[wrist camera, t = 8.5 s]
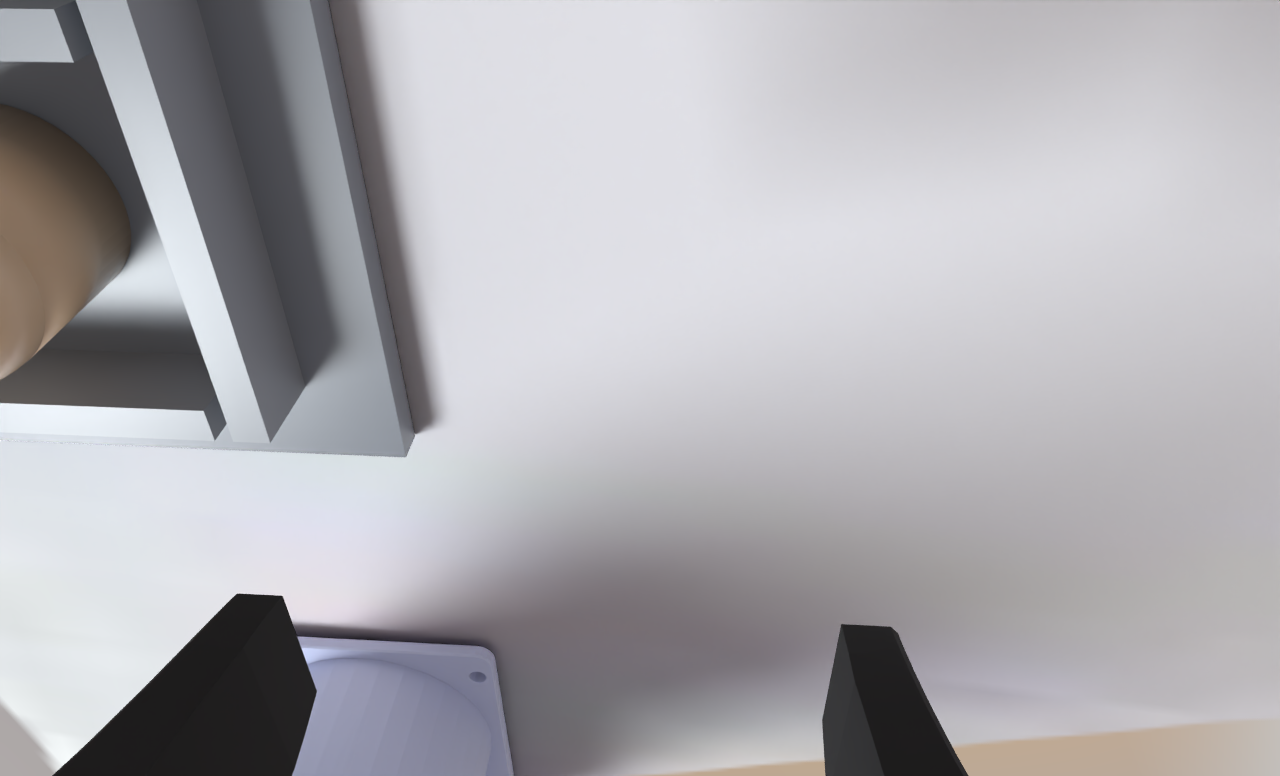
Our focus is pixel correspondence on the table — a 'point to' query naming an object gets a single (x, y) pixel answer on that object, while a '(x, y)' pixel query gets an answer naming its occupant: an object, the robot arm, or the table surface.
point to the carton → (211, 233)
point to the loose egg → (51, 233)
